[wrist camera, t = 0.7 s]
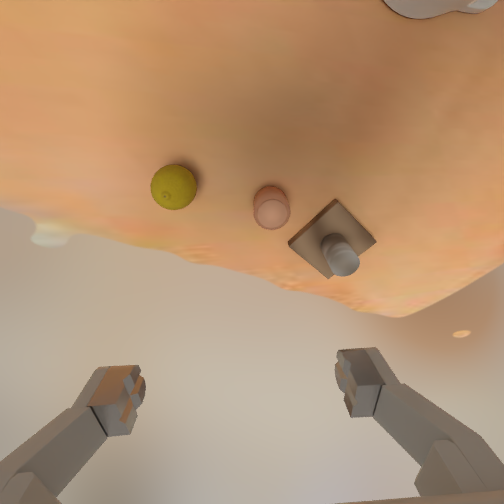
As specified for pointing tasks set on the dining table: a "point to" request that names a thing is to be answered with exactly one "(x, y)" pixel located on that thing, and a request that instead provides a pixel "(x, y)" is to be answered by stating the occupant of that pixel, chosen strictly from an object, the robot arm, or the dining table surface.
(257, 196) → the cap
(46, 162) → the dining table surface
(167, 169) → the lemon
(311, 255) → the stud base
